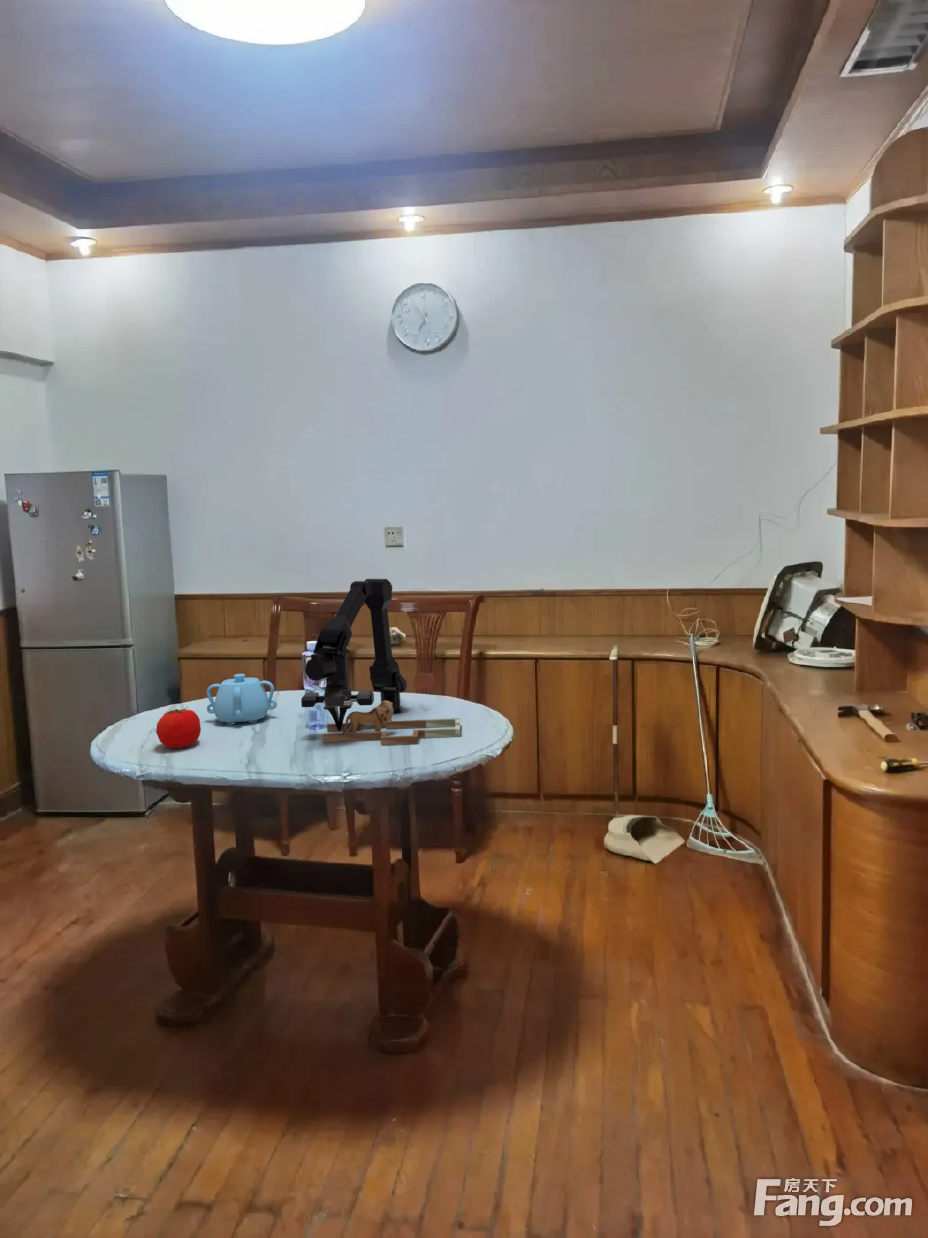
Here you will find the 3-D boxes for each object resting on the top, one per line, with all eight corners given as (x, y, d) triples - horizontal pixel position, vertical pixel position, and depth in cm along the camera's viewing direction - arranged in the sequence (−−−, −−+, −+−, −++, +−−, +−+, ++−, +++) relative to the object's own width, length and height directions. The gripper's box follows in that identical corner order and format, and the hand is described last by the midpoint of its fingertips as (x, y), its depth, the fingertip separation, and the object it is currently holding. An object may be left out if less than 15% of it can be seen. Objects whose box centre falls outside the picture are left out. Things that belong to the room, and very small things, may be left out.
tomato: (213, 742, 249) (210, 704, 248) (176, 755, 239) (173, 716, 237) (183, 737, 255) (180, 700, 254) (146, 750, 244) (142, 711, 243)
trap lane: (330, 725, 261) (330, 719, 260) (459, 720, 261) (459, 713, 261) (319, 748, 239) (318, 740, 239) (460, 742, 239) (460, 734, 239)
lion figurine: (393, 730, 253) (391, 698, 252) (396, 735, 248) (394, 702, 247) (339, 735, 250) (337, 702, 249) (340, 740, 245) (338, 707, 244)
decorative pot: (252, 710, 283) (248, 666, 281) (282, 718, 272) (278, 672, 270) (203, 721, 272) (199, 676, 270) (233, 730, 260) (229, 682, 258)
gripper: (296, 680, 239) (299, 739, 242) (368, 678, 239) (371, 737, 242) (303, 671, 251) (306, 728, 253) (372, 669, 250) (375, 726, 253)
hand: (339, 730), depth 250 cm, fingers closed
